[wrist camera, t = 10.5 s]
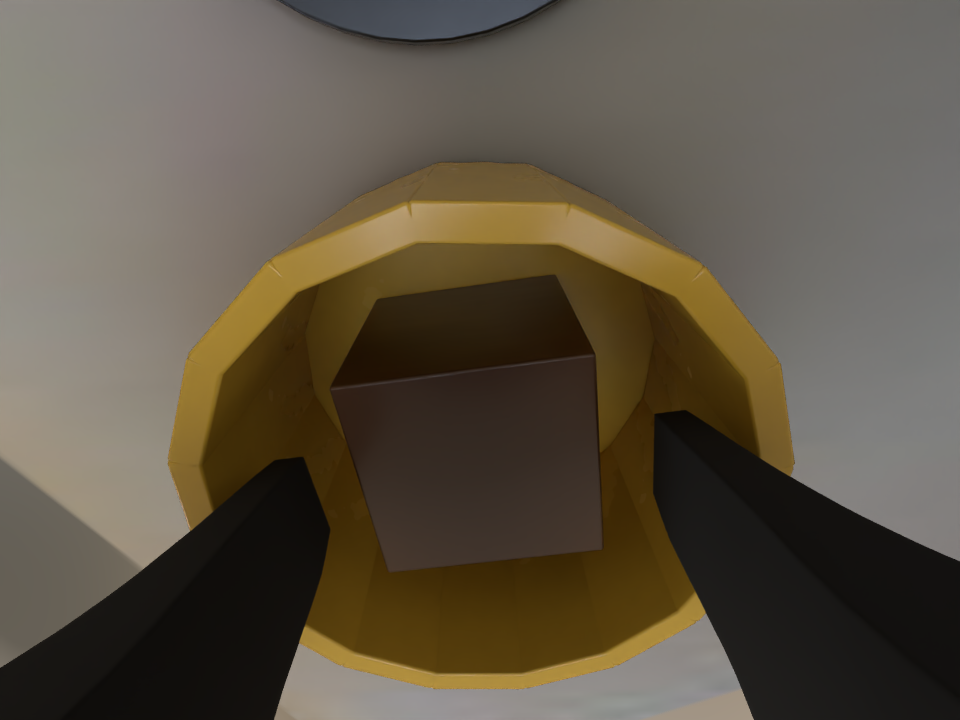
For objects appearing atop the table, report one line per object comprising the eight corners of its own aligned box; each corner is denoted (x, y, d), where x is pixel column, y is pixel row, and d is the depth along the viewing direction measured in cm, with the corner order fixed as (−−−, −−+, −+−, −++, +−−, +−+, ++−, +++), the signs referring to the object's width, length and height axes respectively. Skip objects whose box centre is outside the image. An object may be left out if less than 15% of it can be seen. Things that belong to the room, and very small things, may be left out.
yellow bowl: (703, 164, 13) (894, 206, 7) (635, 502, 18) (712, 690, 12) (260, 158, 12) (76, 196, 7) (318, 500, 17) (241, 690, 12)
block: (556, 272, 13) (596, 353, 9) (567, 425, 16) (604, 551, 11) (375, 298, 14) (327, 387, 9) (412, 444, 16) (387, 574, 11)
